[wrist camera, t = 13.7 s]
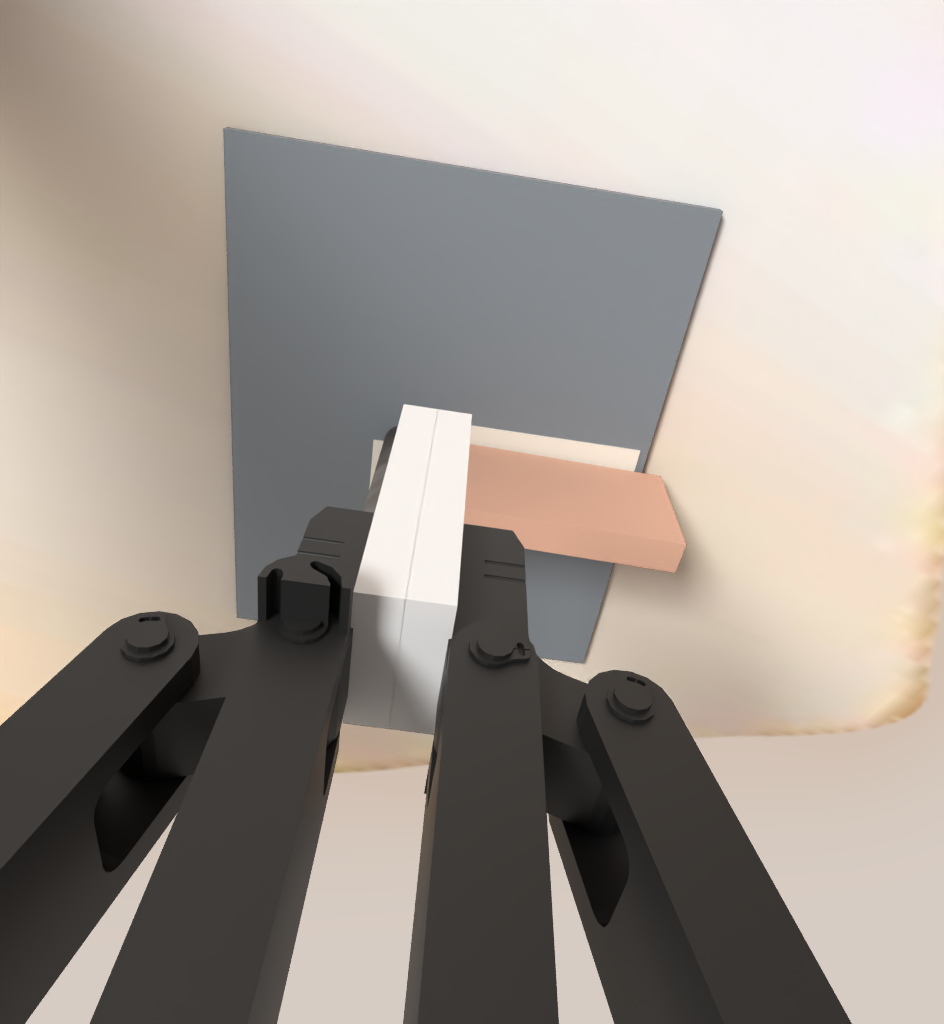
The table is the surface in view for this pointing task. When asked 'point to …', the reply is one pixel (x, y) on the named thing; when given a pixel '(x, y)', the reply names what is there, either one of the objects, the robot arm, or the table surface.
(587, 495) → the hinged panel
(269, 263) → the card
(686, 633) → the table surface
